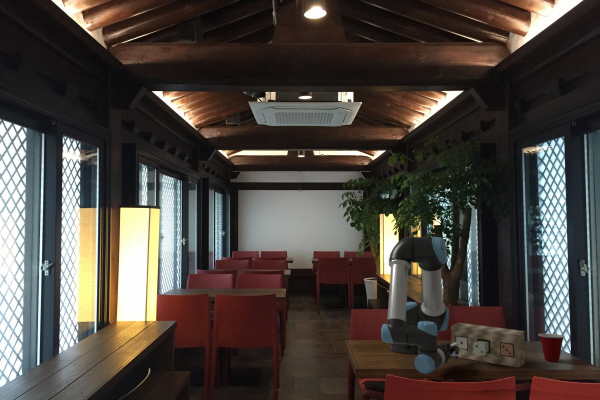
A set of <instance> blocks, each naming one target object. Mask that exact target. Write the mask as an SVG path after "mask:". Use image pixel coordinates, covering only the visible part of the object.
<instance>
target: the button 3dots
mask: <svg viewBox="0 0 600 400" xmlns="http://www.w3.org/2000/svg"><path fill="white" fill-rule="evenodd" d="M513 354H514V344H511V343H501V355H507V356H513Z"/></svg>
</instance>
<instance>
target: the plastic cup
mask: <svg viewBox="0 0 600 400" xmlns="http://www.w3.org/2000/svg"><path fill="white" fill-rule="evenodd" d="M537 335H538V337H539V339H540V343H541V349H542V353H543V357H544V360H545V361H546V362H548V363H559V362H560V358H561V353H562V348H563V346H562V345H563V341H564V338H565V335H562V334H556V333H538V334H537Z"/></svg>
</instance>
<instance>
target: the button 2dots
mask: <svg viewBox="0 0 600 400" xmlns="http://www.w3.org/2000/svg"><path fill="white" fill-rule="evenodd" d="M473 347H474V354H478V355H484V356H485V355H486V352H488V351H489V342H488V341H481V340H480V341H478V342H473Z"/></svg>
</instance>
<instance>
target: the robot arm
mask: <svg viewBox="0 0 600 400" xmlns="http://www.w3.org/2000/svg"><path fill="white" fill-rule="evenodd" d="M445 240H446V239H444V238H443V237H439V236H406V237H403V238H402V239H401V240H399V241H398V242H397V243H396V244H395V245H394V247H393V248H392V250H391V251H390V255H389V257H388V266H389V267H390V276H389V290H388V291H389V293H388V304H387V305H388V306H387V307H388V308H387V321H386V322H387V323H383V324H381V325H382V326H381V331H380V332H381V333H380V334H381V335H380V336H381V340H382V341H381V342H383V343H387V344H389V349H390V351H392V352H394V353H399V354H409V355H410V354H417V356H416V357H415V359H414V361H413V362H414V367H415V369H416V371H418V372H419V373H421V374H423V375H426V374H430V373H432V372H434V371H435V370H436V369H438V368H440V367H442V366H443V365H445V364H446V363H448V361H449V359H452V357H453V358H455V359H459V357H458V354H459V347H458V343H456V342H454V343H453V344H450V343H446V345H445V344H441V345H438V337H439V336H438V332H446V331H447V329H448V325H449V319H450V318H449V315H450V310H449V307H447V306H446V304H445V303H444V302H443V290H442V289H443V288H442V285H443V284H442V269H443V268H444V266H445V264H447V263H448V252H447V251H448V249H447V245H446V241H445ZM411 263H417V264H418V267H419V268H420V269H421V279H422V297H423V301H422V303H421V305H418V303H417V302H416V301H408V277H409V269H410V268H411V266H412V265H411Z"/></svg>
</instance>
